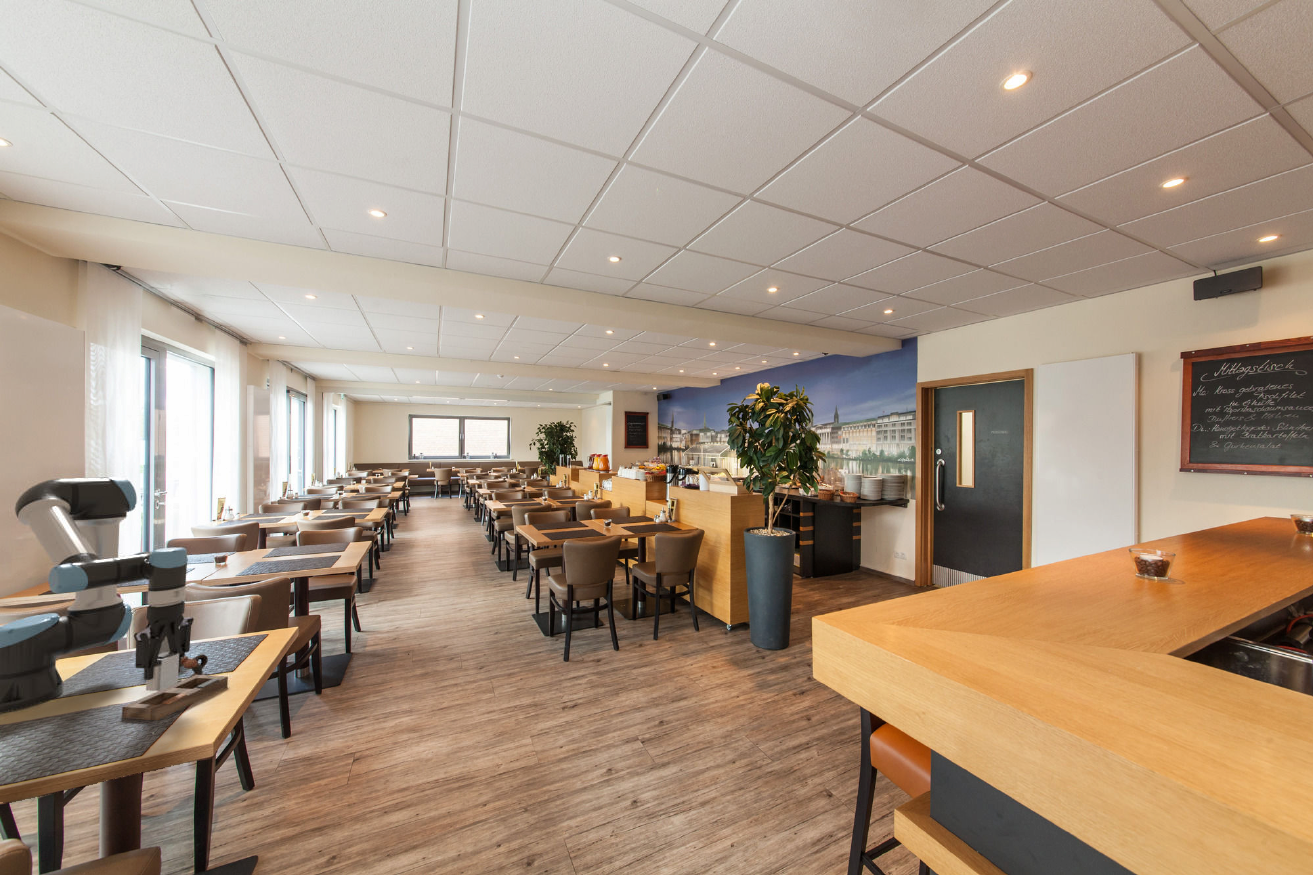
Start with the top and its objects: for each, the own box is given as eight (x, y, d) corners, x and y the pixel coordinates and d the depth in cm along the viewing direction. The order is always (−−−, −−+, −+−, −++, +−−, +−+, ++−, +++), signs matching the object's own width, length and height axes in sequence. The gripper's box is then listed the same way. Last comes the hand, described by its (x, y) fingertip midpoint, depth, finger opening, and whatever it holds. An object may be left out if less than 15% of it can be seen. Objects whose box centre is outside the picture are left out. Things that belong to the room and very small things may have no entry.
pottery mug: (185, 689, 145) (168, 668, 144) (163, 700, 146) (146, 679, 145) (222, 662, 157) (207, 643, 155) (201, 673, 158) (185, 653, 157)
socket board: (121, 717, 128) (122, 705, 128) (195, 684, 147) (196, 673, 147) (157, 720, 127) (158, 707, 127) (227, 686, 146) (227, 675, 146)
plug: (146, 689, 131) (147, 657, 131) (163, 682, 135) (165, 650, 136) (160, 690, 131) (161, 658, 131) (177, 683, 135) (179, 651, 135)
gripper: (142, 613, 125) (137, 702, 124) (209, 594, 142) (206, 672, 141) (117, 612, 126) (112, 700, 125) (187, 593, 143) (183, 670, 142)
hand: (162, 685), depth 133 cm, fingers closed on plug, 4 cm apart
